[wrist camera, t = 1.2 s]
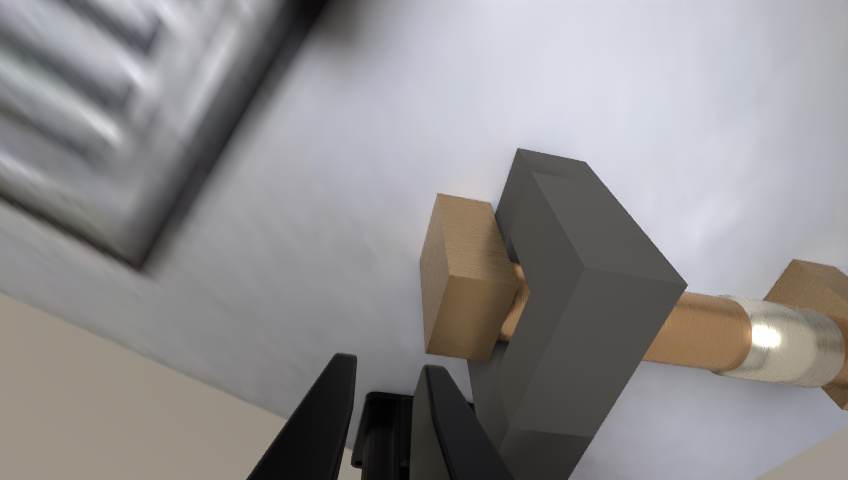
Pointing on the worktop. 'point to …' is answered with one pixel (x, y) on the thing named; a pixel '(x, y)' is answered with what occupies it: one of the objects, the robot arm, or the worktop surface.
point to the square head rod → (680, 334)
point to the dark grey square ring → (568, 315)
